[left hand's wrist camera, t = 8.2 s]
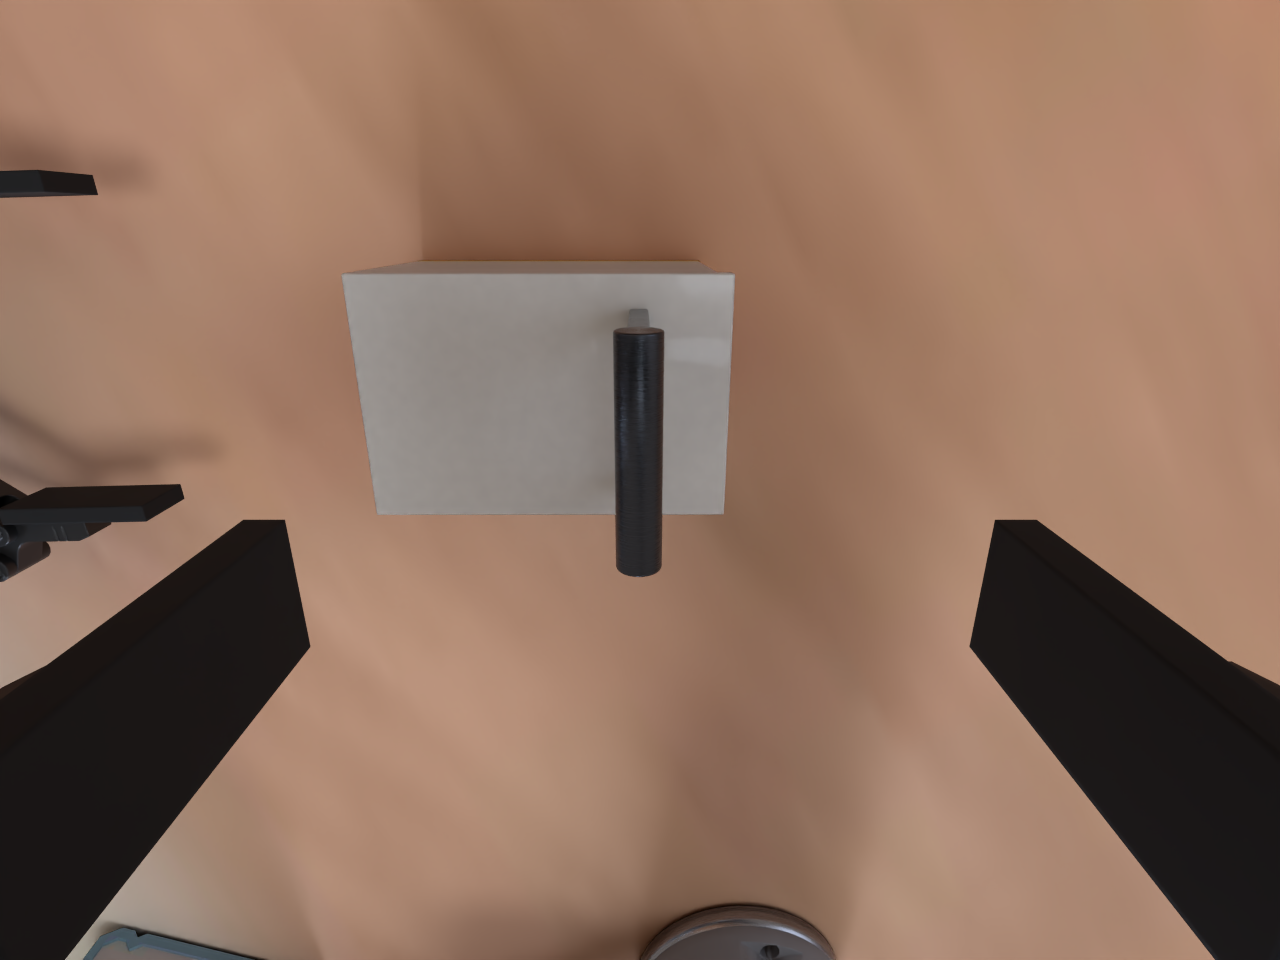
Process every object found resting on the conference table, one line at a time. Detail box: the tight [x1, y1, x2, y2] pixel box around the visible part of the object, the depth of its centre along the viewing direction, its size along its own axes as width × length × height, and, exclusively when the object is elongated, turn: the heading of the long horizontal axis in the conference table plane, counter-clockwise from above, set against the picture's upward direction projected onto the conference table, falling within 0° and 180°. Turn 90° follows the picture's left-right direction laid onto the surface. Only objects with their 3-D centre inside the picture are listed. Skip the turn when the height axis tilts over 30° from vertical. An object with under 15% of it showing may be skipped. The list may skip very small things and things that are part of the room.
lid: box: [342, 272, 735, 577], centre depth 23 cm, size 14×10×8 cm
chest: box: [354, 260, 716, 272], centre depth 31 cm, size 14×10×9 cm
